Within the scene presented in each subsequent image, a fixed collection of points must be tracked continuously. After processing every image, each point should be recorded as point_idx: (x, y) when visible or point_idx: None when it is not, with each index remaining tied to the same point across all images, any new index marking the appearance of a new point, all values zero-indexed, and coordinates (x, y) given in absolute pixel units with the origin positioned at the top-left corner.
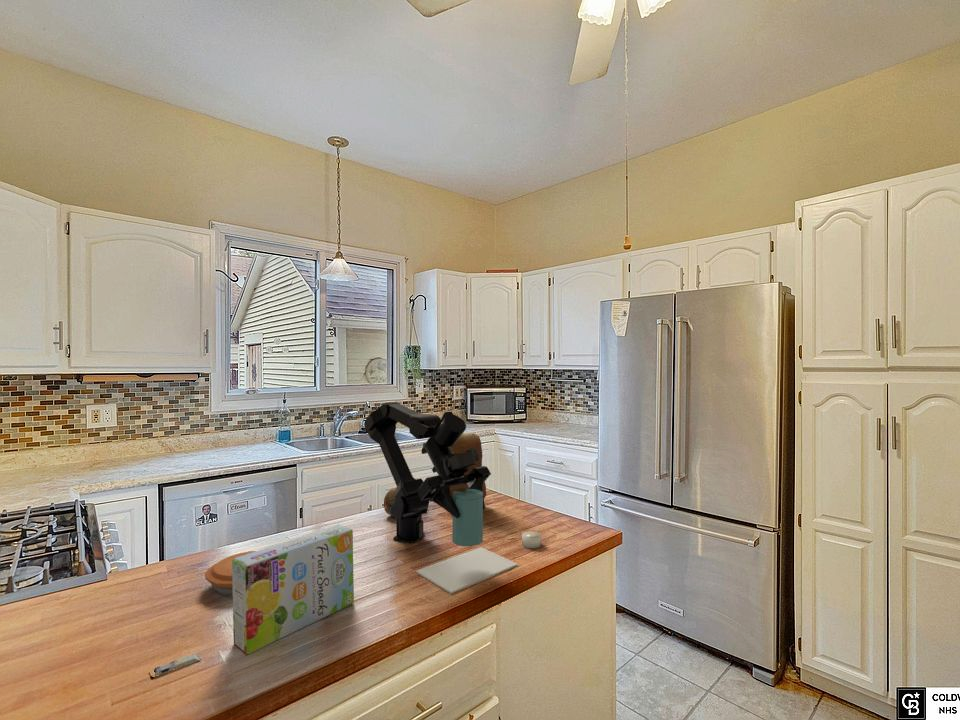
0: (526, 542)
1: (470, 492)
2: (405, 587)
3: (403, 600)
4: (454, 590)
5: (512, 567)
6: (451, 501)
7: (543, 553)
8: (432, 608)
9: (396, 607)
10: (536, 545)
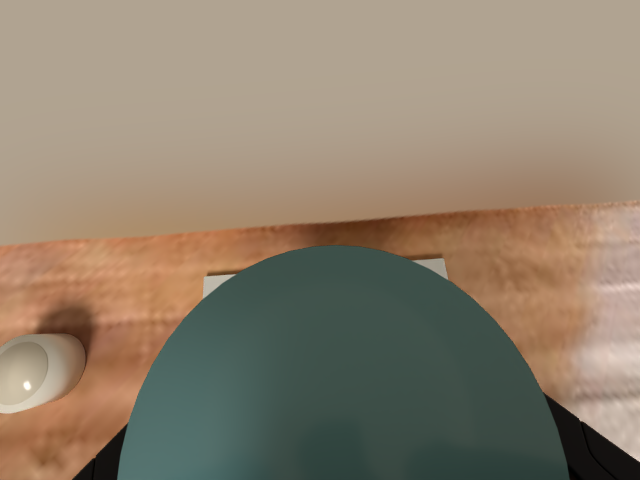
0: (70, 360)
1: (288, 463)
2: (538, 367)
3: (562, 305)
4: (431, 260)
5: (226, 275)
6: (576, 436)
7: (89, 291)
8: (507, 232)
9: (587, 286)
10: (60, 334)
